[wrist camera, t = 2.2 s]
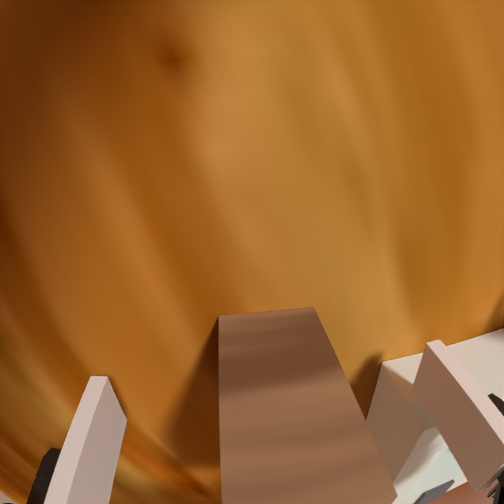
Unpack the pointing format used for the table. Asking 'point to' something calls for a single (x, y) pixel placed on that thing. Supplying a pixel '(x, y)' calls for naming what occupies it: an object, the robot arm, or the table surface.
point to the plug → (291, 417)
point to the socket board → (426, 420)
